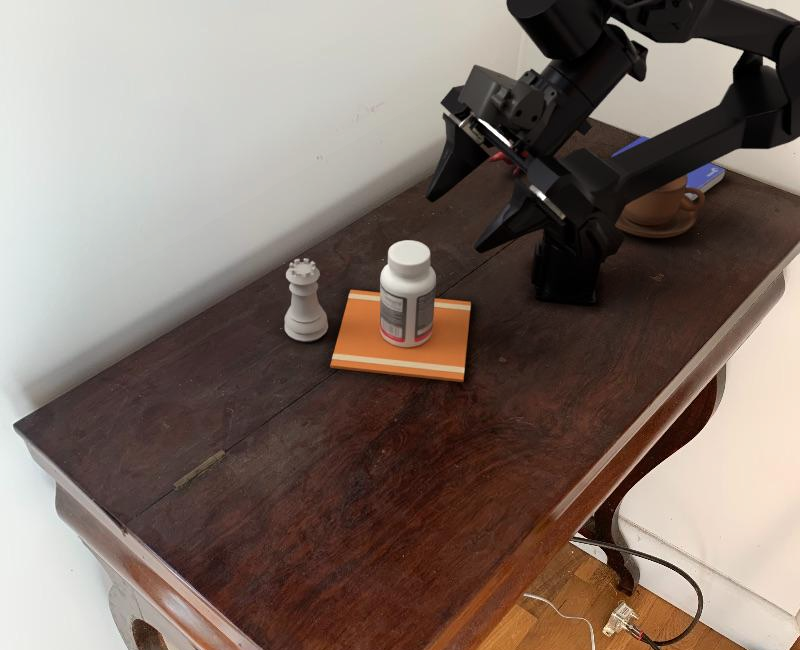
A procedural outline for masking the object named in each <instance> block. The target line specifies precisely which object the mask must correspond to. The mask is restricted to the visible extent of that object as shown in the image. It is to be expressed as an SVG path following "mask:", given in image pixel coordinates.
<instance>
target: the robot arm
mask: <svg viewBox="0 0 800 650" xmlns="http://www.w3.org/2000/svg"><path fill="white" fill-rule="evenodd" d="M505 2H506V3H505V5H506V8H507V11H508V12H509V13H510V15H511V17H513V19H514V20H515V21H516V22H517V24H518V25H519V27H521V29H522V30H523V31H524V32H525V34H526V35H527V37H528V38H529V39H530V40H531V41H532V42H533V44H534V45H535V47H536V48H537V49H538V50H539V51H540V53H541V54H542V55H543V56H544V57H545V58H547V59H548V60H551V61H549V63H548V64H547V65H546V66H545V68H544V69H542V71H541V72H540V73H539V72H537V71H536V70H535V69H533V68H532V67H531V68H530V69H529V70H526V71H525V72H523V74H522V75H521V76H520V77H519V78H518V79H517V80H516V79H514V78H513V77H510V76H508V75H505V74H503V73H500V72H498V71H495V70H493V69H490V68H488V67H484V66H482V65H479V64H473V66H472V68H471V70H470V72H469V75H468V77H467V79H466V80H465V83H464V84H462V85H457V86H453V87H452V88H451V89H450V90H449V91H448V93H446V95H444V97H443V98H442V100H441V101H440V102H439V103H440V105H441V106H442V107H443V108H444V109H445V110H446V111H448V113H449V114H447V113H445V112H443V113H442V114H441V115H442V117H441V118H442V120H443V121H444V125H445V137H446V138H445V143H444V146H443V149H442V152H441V155H440V158H439V160H438V163H437V165H436V168H435V170H434V172H433V176H432V178H431V179H430V182H429V184H428V186H427V190H426V192H425V195H424V197H425V199H426V200H427V201H429V202H430V203H431V204H432V203H435V202H436V201H438V200H439V199H441V198H442V197H443V196H445V195H447V193H449V192H450V191H451V190H452V189H454V188H455V187H456V186H457V185H458V184H460V183H461V182H462V181H463V180H464V179H466V177H468V176H469V175H471V173H472V172H474V171H475V170H477V168H479V167H480V166H481V165H482V164H483V163H484V162H486V161H487V160H488V159H490V158H491V155H490V154H489V153H488V151H486V150H485V149H484V148H483V147H482V145H484V146H485V147H486V148H487V149H491V148H496V149H497V150H498V151H499V152H500V151H501V152H502V153H503V154H504V155H505V156H507V157H508V158H509V159H510V160H511V161H512V162H513V163H515V164H516V165H517V166H518V167H519V168H520V169H521V170H520V171H522V172H524V173H525V174H526V180H527V181H528V182H529V184H530V185H529V186H527V184H525V183H524V182H523V181H522V180H521V179H520V178H519V177H516V178H515V181H514V185H513V190H512V194H511V198H510V199H509V201H508V202H507V203H506V204H505V206H504V207H503V208H502V209H501V211H500V212H499V213H498V214H497V215H496V217H494V219H493V220H492V221H491V222H490V224H489V225H487V227H486V228H485V230H484V231H482V233H481V235H480V236H479V237H478V239H477V240H476V242H475V243H474V245H473V250H474V251H476V252H477V253H478V254H484V253H487V252H488V251H491V250H493V249H496V248H497V247H498V248H499V247H501V246H503V245H504V244H507V243H510V242H511V241H514V240H516V239H519V238H521V237H524V236H526V235H528V234H531V233H534V232H535V233H536V232H538V231H540V230H543V232H542V238H541V239H538V240H536V241H535V247H534V253H533V256H532V263H531V269H530V283H531V285H533V286H534V290H533V291H534V294H533V296H534V299H535V300H538V301H546V302H553V303H554V302H556V303H565V304H574V305H575V304H576V305H586V306H594V305H595V303H596V298H597V297H596V286H597V282H598V278H599V275H600V270H601V265H602V264H605V263H606V259H608V258H609V257H612V256H614V255H616V254H618V251H619V250H620V248H621V246H622V244H623V243H624V241H625V239H626V235H625V234H624V232H623V231H621V230H619V229H618V228H617V227H616V226H615V224H616V222H617V220H618V219H619V217H620V215H621V213H622V212H623V210H624V208H625V206H626V205H627V204H629V203H630V202H632V201H634V200H636V199H638V198H640V197H642V196H644V195H646V194H648V193H650V192H652V191H654V190H656V189H658V188H660V187H662V186H664V185H666V184H668V183H670V182H672V181H674V180H676V179H678V178H680V177H682V176H684V175H686V174H688V173H690V172H692V171H694V170H696V169H698V168H700V167H702V166H704V165H706V164H708V163H710V164H711V163H712V162H714V161H717V160H719V159H720V158H722V157H724V156H726V155H728V154H730V153H733V152H734V151H737V150H771V149H773V148H777V147H780V146H783V145H786V144H789V143H791V142H794V141H795V140H797V139H799V138H800V20H799V19H796V18H794V17H793V16H791V15H788V14H787V13H784V12H782V11H781V10H778V9H776V8H772V7H771V8H764V7H761V6H758V5H756V4H753V3H750V2H747V1H744V0H506V1H505ZM610 18H612V19H614V20H616V21H617V22H619V23H621V24H622V25H624V26H626V27H627V28H629V29H631V30H632V31H634V32H637V33H638V34H640V35H642V36H643V37H646V39H647V38H648V39H649V40H650V41H653V43H656V44H686V43H688V42H690V41H691V40H692V39H701V40H706V41H708V42H711V43H712V42H713V43H715V44H718V45H722V46H726V47H728V48H733V49H736V50H739V51H743V52H742V53H741V55H740V57H739V58H738V60H737V62H736V63H735V65H734V66H733V68H732V82H731V84H729V85H728V87H727V90H726V91H725V93H724V95H723V97H722V99H721V100H720V101H719V103H718V105H716V106H714V107H712V108H710V109H708V110H706V111H703V112H701V113H700V114H698V115H696V116H693V117H692V118H689V119H687V120H684V121H683V122H681V123H679V124H677V125H675V126H674V127H670V128H668V129H666V130H665V131H663V132H660V133H658V134H656V135H654V136H652V137H650V139H648V140H646V141H644V142H642V143H640V144H638V145H636V146H634V147H631V148H629V149H627V150H625V151H623V152H621V153H619V154H617V155H615V156H613V157H611V156H610V157H608V158H603V159H601V158H600V157H599V156H597V155H596V154H595V153H593V152H592V151H591V150H589V149H588V148H586V147H581V148H577V149H575V150H573V151H572V152H571V153H569V154H567V155H566V156H564V157H562V158H559V159H556V157H555V155H556V154H558V152H559V151H560V150H561V149H562V147H563V146H564V145H565V144H566V143H567V142H568V141H569V140H570V139H571V137H572V136H573V135H574V134H575V133H576V132H578V133H580V134H581V135H582V136H583V137H584V136H586V135H587V134H588V133H589V131H591V129H592V128H593V126H592V124H591V123H590V122H589V121H588V118H589V117H590V116H591V115H592V114H593V113H594V111H595V110H596V109H597V108H598V107H599V106H600V105H601V104H602V103H603V102H604V100H605V99H606V98H607V97H608V96H609V95H610V94H611V92H612V91H613V90H614V89H615V88H616V87H617V85H619V83H620V82H622V80H623V79H624V78H625V77H626V76H627V75H628V76H630V77H631V78H633V79H634V80H636V81H637V82H639V83H642V82H644V81H645V80H646V77H647V70H648V66H647V57H648V54H649V48H648V47H646V46H644V45H643V44H641V43H640V42H638V41H637V40H634V39H631V40H630V38H629V36H628V34H627V33H626V32H625V31H624V29H623V28H622V27H621V26H619V25H617V24H614V23H608V22H609V20H610ZM764 58H765V59H767V60H769V61H771V62H773V63H774V64H775V67H772V66H769V65H766V64H764ZM510 139H511V140H512V141H513V142H514V144H513V145H512V144H511V143H510V142H509V140H510ZM505 144H506V145H507V146H508V147H510V149H509V148H508V147H507V146H506V145H505ZM525 150H526V151H527V152H528V153H529V154H530V155H529V156H528V157H527V158H525V157H524V156H523V155H522V153H523V152H524V151H525ZM515 164H514V165H515ZM516 165H515V166H516ZM517 166H516V167H517Z"/></svg>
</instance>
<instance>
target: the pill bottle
mask: <svg viewBox="0 0 800 650" xmlns="http://www.w3.org/2000/svg"><path fill="white" fill-rule="evenodd" d="M379 283H380V285H379V293H380V332H381V335H382V336H383V338H384V339H385V340H386V341H388V342H389V343H391V344H393V345H396V346H399V347H414V346H418V345H421V344H422V343H424V342H426V341H427V340H428V339H429V338H430V336H431V334H432V329H433V316H434V303H435V298H436V287H437V274H436V271H435V270H434V268H433V267H432V266H431V250H430V248H429V247H428V246H427V245H426V244H424V243H422V242H421V241H417V240H411V239H409V240H407V239H404V240H401V241H397V242H395V243H393V244H392V245H391V246H390V247H389V248H388V252H387V264H386V265H384V267H383V269H382V270H381V272H380V279H379Z"/></svg>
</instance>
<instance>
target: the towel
mask: <svg viewBox="0 0 800 650" xmlns="http://www.w3.org/2000/svg"><path fill="white" fill-rule="evenodd" d="M471 307H472V302H471V301H465V300H456V299H448V298H447V299H445V298H438V297H437V298H436V297H435V303H434V316H433V329H432V334H431V336H430V338H429V339H428V340H427V341H426V342H424V343H422V344H421V345H418V346H414V347H399V346H396V345H393V344H391V343H389V342H388V341H386V340H385V339H384V338H383V336H382V335H381V332H380V292H379V291H378V292H377V291H368V290H359V289H357V290H356V289H350V290H349V293H348V297H347V302H346V306H345V310H344V313H343V317H342V320H341V325H340V328H339V331H338V335H337V339H336V343H335V347H334V350H333V354H332V357H331V362H330V369H337V370H347V371H353V372H354V371H355V372H364V373H374V374H383V375H384V374H385V375H390V376H391V375H393V376H402V377H411V378H420V379H428V380H429V379H430V380H438V381H447V382H455V383H464V378H465V369H466V359H467V350H468V349H467V348H468V337H469V329H470V328H469V327H470V319H471V318H470V317H471V309H472V308H471Z"/></svg>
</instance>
